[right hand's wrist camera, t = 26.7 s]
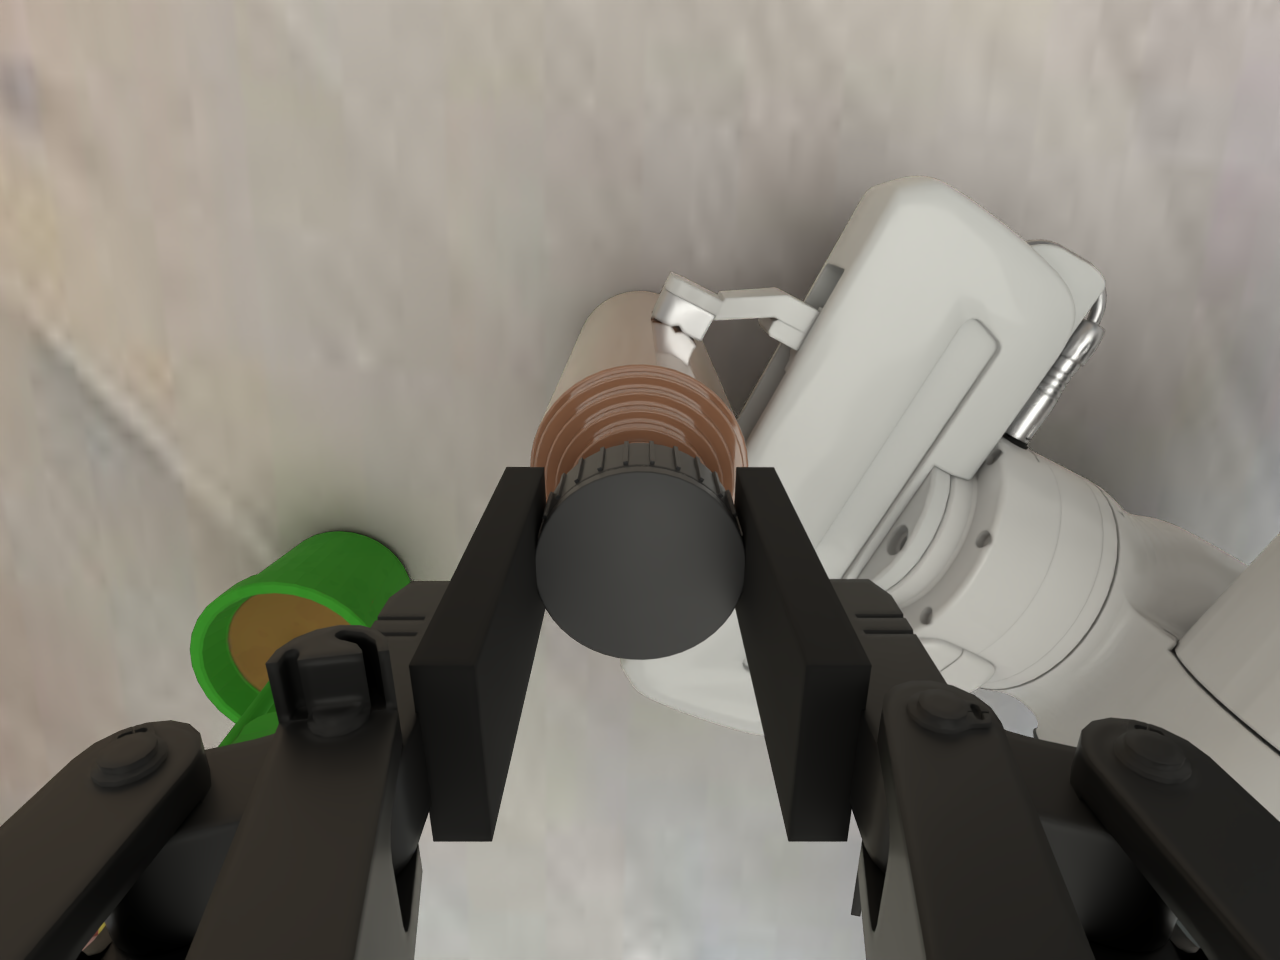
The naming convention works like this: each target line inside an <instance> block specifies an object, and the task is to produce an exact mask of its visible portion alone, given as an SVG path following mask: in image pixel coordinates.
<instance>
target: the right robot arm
mask: <svg viewBox="0 0 1280 960" xmlns="http://www.w3.org/2000/svg"><path fill="white" fill-rule="evenodd" d="M545 506H546V490H545V471H544V467H506V469H505V471H504V473H503V475H502V477H501V479H500V481H499V483H498V485H497V487H496V489H495V491H494V494H493V496H492V498H491V500H490V502H489V504H488V506H487V508H486V510H485V512H484V514H483V516H482V518H481V520H480V522H479V524H478V526H477V528H476V530H475V532H474V534H473V536H472V538H471V540H470V542H469V544H468V546H467V548H466V550H465V552H464V554H463V556H462V558H461V560H460V562H459V564H458V566H457V568H456V571H455V573H454V575H453V577H452V579H451V581H412V582H410V583H409V584H408V585H406V586H405V587H403V588H402V589H401V590H399V591H398V592H396V593H395V594H394V595H392V596H391V597H389V599H388V601H387V602H386V604H385V605H384V607H383V609H382V610H381V612H380V613H379V615H378V619H377V620H375V621H374V623H373V625H372V626H371V628H369V627H366V626H362V625H337V626H332V627H327V628H321V629H316V630H314V631H311V632H309V633H306V634H303V635H301V636H298V637H296V638H294V639H292V640H291V641H289V642H288V643H286V644H285V645H283V646H282V647H280V648H279V649H277V650H276V651H275V652H274V653H273V655H272V656H271V657H270V658H269V660H268V661H267V662H266V663H265V665H266V669H267V673H268V678H269V682H270V687H271V691H272V695H273V700H274V704H275V709H276V713H277V717H278V722H279V724H278V727H277V729H276V732H275V733H274V734H271V735H268V736H264V737H261V738H257V739H254V740H249V741H244V742H240V743H235V744H230V745H226V746H221V747H217V748H212V749H207V750H204V746H203V742H202V739H201V735H200V733H199V732H198V731H197V730H196V729H195V728H194V727H192V726H191V725H190V724H187V723H182V722H177V721H172V720H170V721H159V722H149V723H144V724H141V725H136V726H134V727H129V728H127V729H124V730H121V731H118V732H116V733H114V734H112V735H110V736H108V737H106V738H104V739H102V740H100V741H98V742H96V743H94V744H93V745H91V746H90V747H89V748H87V749H86V750H85V751H83V752H82V753H81V754H79V755H78V756H77V757H75V758H74V759H73V760H71V761H70V762H69V763H68V764H67V765H66V766H65V767H64V768H63V769H62V770H61V771H60V772H59V773H58V774H56V775H55V776H54V777H53V778H52V779H51V780H50V781H49V782H48V783H47V784H46V785H45V786H44V787H43V788H41V789H40V790H39V791H38V792H37V793H36V794H35V795H34V796H33V797H32V798H31V799H30V800H29V801H28V802H26V803H25V804H24V805H23V806H22V807H21V808H20V809H19V810H18V811H17V812H16V813H15V814H14V815H13V816H11V817H10V818H9V819H8V820H7V821H6V822H5V823H4V824H3V825H2V826H1V827H0V960H414V954H415V943H416V933H417V923H418V912H419V902H420V891H421V881H422V865H421V858H420V852H419V845H418V842H419V839H420V836H421V833H422V830H423V827H424V825H425V822H426V819H427V816H428V813H430V820H431V828H432V835H433V841H492V839H493V835H494V830H495V826H496V822H497V817H498V813H499V809H500V804H501V800H502V795H503V791H504V787H505V782H506V778H507V774H508V769H509V765H510V761H511V756H512V752H513V748H514V743H515V739H516V734H517V730H518V726H519V721H520V717H521V713H522V708H523V704H524V700H525V695H526V691H527V686H528V682H529V678H530V673H531V669H532V665H533V660H534V656H535V652H536V647H537V643H538V639H539V634H540V630H541V625H542V621H543V617H544V612H545V606H544V604H543V602H542V600H541V598H540V596H539V593H538V589H537V579H536V562H535V548H536V545H537V541H538V534H539V531H540V528H541V524H542V521H543V519H542V516H543V513H544V509H545ZM734 506H735V509H736V513H737V517H738V520H739V523H740V527H741V530H742V533H743V542H744V547H745V570H744V586H743V592H742V594H741V596H740V599H739V601H738V604H737V605H736V607H735V610H736V615H737V619H738V623H739V628H740V632H741V637H742V641H743V645H744V650H745V654H746V658H747V663H748V667H749V671H750V676H751V680H752V684H753V689H754V693H755V698H756V702H757V706H758V711H759V715H760V719H761V724H762V728H763V732H764V737H765V741H766V745H767V750H768V754H769V759H770V763H771V767H772V772H773V776H774V780H775V785H776V789H777V793H778V798H779V802H780V806H781V811H782V815H783V820H784V824H785V828H786V833H787V837H788V841H847V838H848V831H849V824H850V817H851V810H852V811H853V814H854V817H855V820H856V823H857V825H858V828H859V831H860V834H861V837H862V845H861V852H860V858H859V865H858V871H857V878H856V885H855V891H854V898H853V904H852V911H851V915H855V916H860V914H861V911H862V921H863V931H864V942H865V952H866V960H1280V821H1278V820H1277V819H1276V818H1275V817H1274V816H1273V815H1272V814H1271V813H1270V812H1269V811H1268V810H1267V809H1266V808H1264V807H1263V806H1262V805H1261V804H1260V803H1259V802H1258V801H1257V800H1256V799H1255V798H1254V797H1253V796H1251V795H1250V794H1249V793H1248V792H1247V791H1246V790H1245V789H1244V788H1243V787H1242V786H1241V785H1240V784H1239V783H1237V782H1236V781H1235V780H1234V779H1233V778H1232V777H1231V776H1230V775H1229V774H1228V773H1227V772H1226V771H1225V770H1223V769H1222V768H1221V767H1220V766H1219V765H1218V764H1217V763H1216V762H1215V761H1214V760H1213V759H1212V758H1210V757H1209V756H1208V755H1207V754H1205V753H1204V752H1203V751H1201V750H1200V749H1199V748H1197V747H1196V746H1194V745H1193V744H1192V743H1190V742H1189V741H1188V740H1186V739H1184V738H1182V737H1180V736H1177V735H1175V734H1173V733H1171V732H1169V731H1167V730H1165V729H1163V728H1161V727H1158V726H1155V725H1152V724H1147V723H1146V722H1141V721H1137V720H1133V719H1122V718H1112V717H1110V718H1105V719H1100V720H1094V721H1091V722H1090V723H1089V724H1088V725H1087V726H1086V727H1084V728H1083V729H1082V730H1081V734H1080V737H1079V741H1078V744H1077V747H1073V746H1069V745H1064V744H1059V743H1055V742H1050V741H1045V740H1041V739H1036V738H1031V737H1027V736H1023V735H1020V734H1016V733H1013V732H1009V731H1007V730H1004V728H1003V726H1002V723H1001V721H1000V720H999V719H998V717H997V716H996V714H995V713H994V711H993V710H992V708H991V707H989V706H988V705H987V704H985V703H984V702H983V701H981V700H980V699H979V698H978V697H976V696H975V695H973V694H971V693H969V692H966V691H964V690H962V689H960V688H958V687H955V686H953V685H949V684H947V683H946V681H945V679H944V678H943V676H942V675H941V673H940V672H939V670H938V668H937V667H936V665H935V664H934V662H933V660H932V659H931V657H930V656H929V654H928V652H927V651H926V649H925V648H924V646H923V645H922V643H921V641H920V640H919V638H918V637H917V635H916V634H913V629H912V627H911V625H910V624H909V622H908V621H907V619H906V618H904V617H903V613H902V611H901V610H900V608H899V606H898V605H897V603H896V602H895V600H894V599H893V597H892V595H890V594H889V593H888V592H886V591H885V590H883V589H882V588H881V587H879V586H878V585H876V584H875V583H874V582H872V581H871V580H869V579H829V578H828V576H827V574H826V572H825V569H824V567H823V565H822V563H821V561H820V559H819V557H818V555H817V553H816V551H815V549H814V547H813V545H812V543H811V541H810V539H809V537H808V535H807V533H806V531H805V529H804V527H803V525H802V523H801V521H800V519H799V517H798V515H797V513H796V511H795V509H794V507H793V505H792V503H791V501H790V499H789V497H788V495H787V493H786V490H785V488H784V486H783V484H782V482H781V480H780V478H779V476H778V474H777V472H776V470H775V468H774V467H736V480H735V499H734ZM1177 919H1178V920H1179V921H1180V922H1181V923H1182V925H1183V926H1184V927H1185V929H1186V930H1187V931H1188V932H1189V934H1190V935H1191V936H1192V937H1193V939H1194V940H1195V941H1196V942H1197V944H1198V945H1199V946H1200V948H1198V947H1197V946H1196V945H1195V944H1194V943H1193V942H1192V941H1191V940H1190V939H1189V938H1188V937H1187V936H1186V935H1185V933H1184V932H1183V931H1182V930H1181V928H1180V927H1179V926H1178V925H1177V923H1176V921H1177ZM104 922H105V927H104V928H103V929H102V931H101V932H100V933H99V934H98V936H97V937H96V938H95V939H94V940H93V941H92V942H91V943H90V944H89V945H88V946H87V947H86V948H85V949H84V950H83V948H84V947H85V946H86V945H87V943H88V942H89V941H90V939H91V938H92V937H93V936H94V934H95V933H96V932H97V931H98V929H99V928H100V927H101V925H102V924H103V923H104ZM82 950H83V951H82Z"/></svg>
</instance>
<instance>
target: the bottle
mask: <svg viewBox="0 0 1280 960" xmlns="http://www.w3.org/2000/svg"><path fill="white" fill-rule="evenodd" d="M659 295H660V294H658V293H654V292H648V291H631V292H625V293H622V294H618V295H616V296H614V297H611V298H610V299H608V300H606V301H605V302H603V303H602V304H601V305H599V306H598V307H597V308H596V309H595V310H594V311H593V312H592V313H591V314H590V316H589V317H588V319H587V320H586V322H585V324H584V326H583V327H582V330H581V332H580V334H579V337H578V339H577V341H576V343H575V346H574V348H573V350H572V352H571V355H570V357H569V359H568V361H567V364H566V366H565V368H564V371H563V373H562V375H561V377H560V380H559V382H558V384H557V386H556V389H555V391H554V393H553V396H552V398H551V400H550V402H549V405H548V407H547V409H546V411H545V414H544V416H543V418H542V421H541V423H540V425H539V427H538V430H537V433H536V436H535V438H534V442H533V447H532V451H531V463H530V467H544V471H545V490H546V503H547V500H548V496H549V494H550V492H554V491H555V489H556V487H557V486H558V484H559V483H560V479H561V476H562V474H563V473H565V474H567V473H568V472H569V471H570V470H571V469H572V468H574V467H575V466H576V465H577V464H578V461H579V459H580V458H583V459H585V458H587V457H589V456H591V455H593V454H595V453H597V452H599V451H600V448H601V447H605V449H607V448H610V447H613V446H618V445H622V444H624V442H625V441H629V444H631V443H649V441H654V444H657V445H663V446H667V447H670V448H673V447H674V446H677V447H678V450H679V451H682V452H684V453H686V454H688V455H690V456H691V457H693V458H695V457H696V456H697V457H699V458H700V462H701V463H702V464H703V465H705V466H706V467H707V468H708V469H709V470H710V471H711V472H712V473H713V472H714V471H715V472H716V473H717V474H718V478H719V481H720V482H721V484H722V485H723V487H724V488H725V490H728V489H729V491H730V493H731V496H732V500H733V503H734V499H735V480H736V467H748V454H747V448H746V444H745V439H744V436H743V434H742V431H741V429H740V426H739V424H738V421H737V419H736V417H735V414H734V412H733V410H732V408H731V405H730V403H729V401H728V398H727V396H726V394H725V391H724V389H723V387H722V385H721V382H720V380H719V378H718V375H717V373H716V371H715V368H714V366H713V364H712V362H711V359H710V357H709V355H708V352H707V350H706V348H705V345H704V343H703V341H701V342H700V341H698V340H696V339H694V338H692V337H690V336H688V335H686V334H685V333H683V332H682V331H681V329H680V327H679V326H673V327H672V326H669V325H667V324H664V323H662V322H660V321H658V320H657V319H655V318H654V317H653V316H652V310H653V308H654V306H655V303H656V301H657V299H658V297H659Z"/></svg>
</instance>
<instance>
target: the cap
mask: <svg viewBox="0 0 1280 960" xmlns="http://www.w3.org/2000/svg"><path fill="white" fill-rule="evenodd" d="M542 519H543V521H542V524H541V528H540V531H539V534H538V541H537V545H536V548H535V562H536V579H537V589H538V593H539V596H540V598H541V600H542V602H543V604H544V606H545V608H546V610H547V611H548V613H549V614H550V616H551V617H552V619H553V620H554V621H555V622H556V623H557V625H558V626H559V627H560V628H561V629H562V630H563V631H564V632H566V633H567V634H568V635H569V636H570V637H572V638H573V639H574V640H576V641H577V642H579V643H580V644H582V645H584V646H586V647H588V648H590V649H592V650H594V651H597V652H599V653H602V654H605V655H609V656H612V657H616V658H623V659H630V660H648V659H658V658H663V657H669V656H672V655H675V654H678V653H682V652H684V651H686V650H688V649H691V648H693V647H695V646H696V645H698V644H700V643H702V642H703V641H705V640H706V639H707V638H709V637H710V636H711V635H713V634H714V633H715V632H716V631H717V630H718V629H719V628H720V627H721V626H722V625H723V624H724V623H725V622H726V620H727V619H728V618H729V617H730V615H731V614H732V612H733V610H734V609H735V607H736V605H737V604H738V601H739V599H740V596H741V594H742V592H743V586H744V570H745V547H744V542H743V533H742V530H741V527H740V523H739V520H738V517H737V513H736V509H735V506H734V503H733V500H732V496H731V493H730V491H729V489H728V490H725V488H724V487H723V485H722V484H721V482H720V481H719V478H718V474H717V473H716V472H715V471H714V472H713V473H712V472H711V471H710V470H709V469H708V468H707V467H706V466H705V465H703V464H702V463H701V462H700V458H699V457H697V456H696V457H695V458H693V457H691V456H690V455H688V454H686V453H684V452H682V451H679V450H678V447H677V446H674V447H673V448H670V447H667V446H663V445H657V444H654V441H649V443H631V444H629V441H625V442H624V444H622V445H618V446H613V447H610V448H607V449H605V447H601V448H600V451H599V452H597V453H595V454H593V455H591V456H589V457H587V458H585V459H583V458H580V459H579V461H578V464H577V465H576V466H575V467H574V468H572V469H571V470H570V471H569V472H568V473H567V474H565V473H563V474H562V476H561V479H560V483H559V484H558V486H557V487H556V489H555V491H554V492H550V494H549V496H548V500H547V503H546V506H545V509H544V513H543V516H542Z"/></svg>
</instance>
